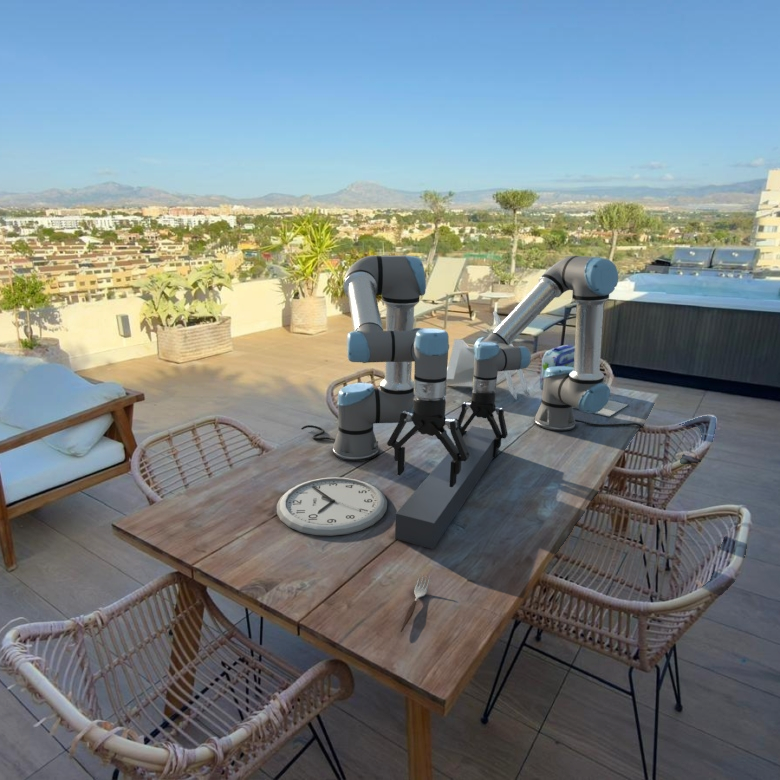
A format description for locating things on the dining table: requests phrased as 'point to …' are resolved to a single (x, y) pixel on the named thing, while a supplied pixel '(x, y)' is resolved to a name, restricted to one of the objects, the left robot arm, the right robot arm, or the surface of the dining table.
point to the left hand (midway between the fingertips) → (426, 479)
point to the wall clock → (331, 506)
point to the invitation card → (611, 408)
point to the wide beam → (444, 492)
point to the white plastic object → (464, 365)
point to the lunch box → (557, 359)
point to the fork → (418, 593)
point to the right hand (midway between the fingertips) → (479, 452)
